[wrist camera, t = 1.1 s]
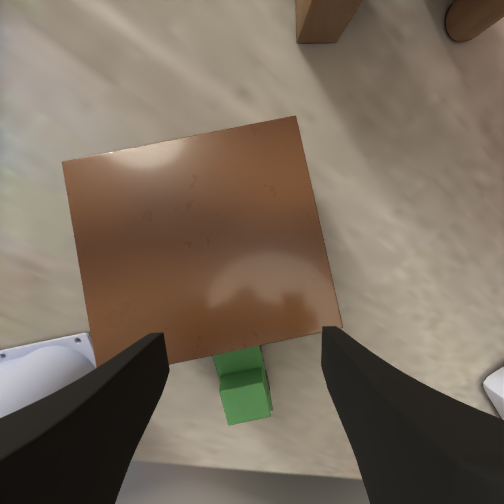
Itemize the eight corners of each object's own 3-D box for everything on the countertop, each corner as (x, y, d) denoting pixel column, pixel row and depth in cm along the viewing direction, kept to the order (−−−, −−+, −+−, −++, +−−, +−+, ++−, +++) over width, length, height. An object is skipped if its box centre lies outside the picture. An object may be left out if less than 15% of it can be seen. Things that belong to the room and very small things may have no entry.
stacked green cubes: (268, 383, 25) (276, 428, 20) (230, 391, 25) (228, 439, 20) (256, 325, 24) (261, 358, 19) (216, 334, 23) (209, 369, 18)
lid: (338, 324, 15) (343, 328, 14) (106, 373, 15) (98, 380, 14) (293, 122, 15) (296, 114, 15) (71, 166, 15) (61, 161, 14)
